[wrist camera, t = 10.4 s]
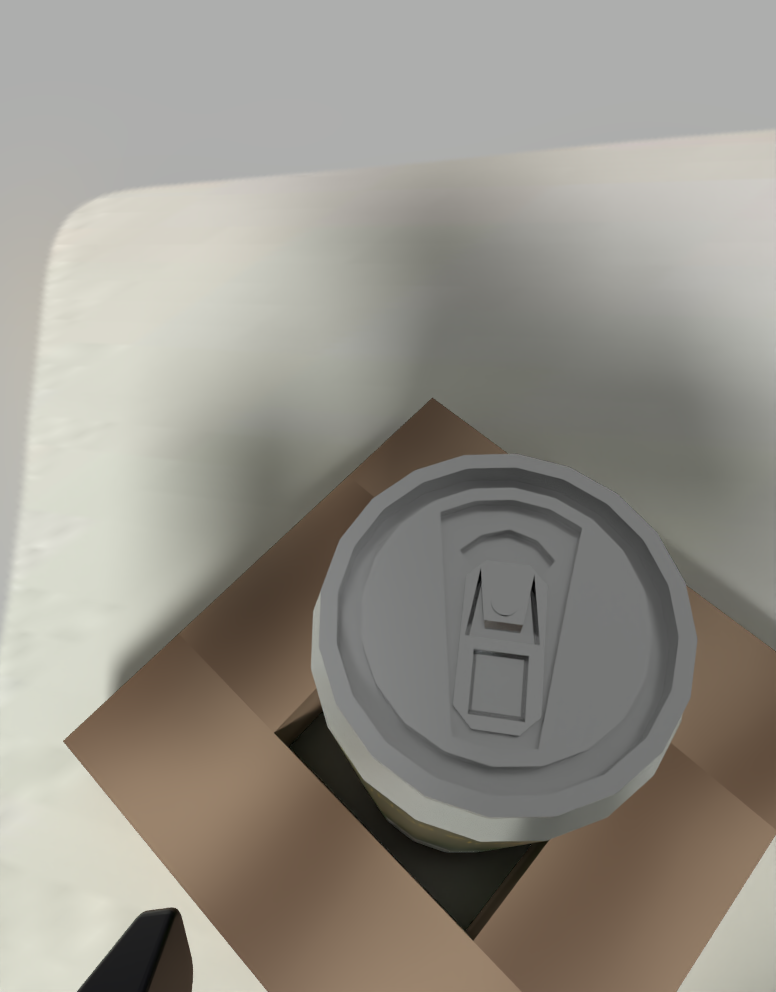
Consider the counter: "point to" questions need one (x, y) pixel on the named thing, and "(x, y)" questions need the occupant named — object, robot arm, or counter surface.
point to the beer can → (501, 651)
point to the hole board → (355, 850)
